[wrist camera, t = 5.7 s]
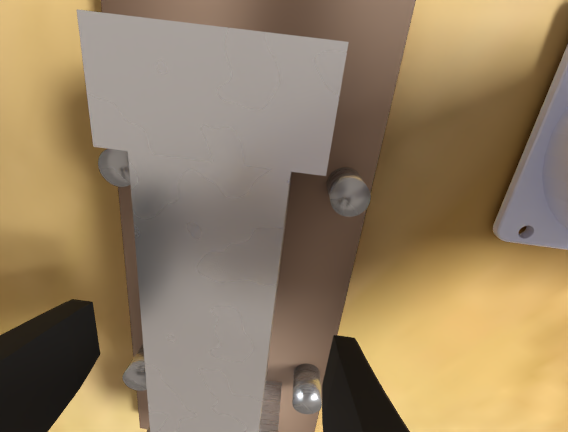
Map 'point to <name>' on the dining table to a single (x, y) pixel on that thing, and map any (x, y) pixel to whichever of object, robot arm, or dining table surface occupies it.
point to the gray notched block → (209, 196)
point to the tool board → (296, 183)
